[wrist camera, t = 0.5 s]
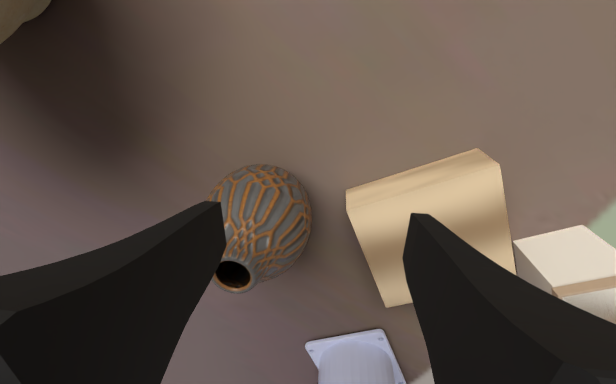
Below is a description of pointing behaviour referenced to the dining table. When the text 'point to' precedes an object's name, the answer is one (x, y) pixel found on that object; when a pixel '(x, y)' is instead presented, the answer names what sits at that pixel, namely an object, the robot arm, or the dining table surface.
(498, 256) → the block
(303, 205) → the vase
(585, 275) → the framed cream cube
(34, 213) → the dining table surface
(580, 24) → the dining table surface
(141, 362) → the robot arm
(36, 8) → the planter bowl
